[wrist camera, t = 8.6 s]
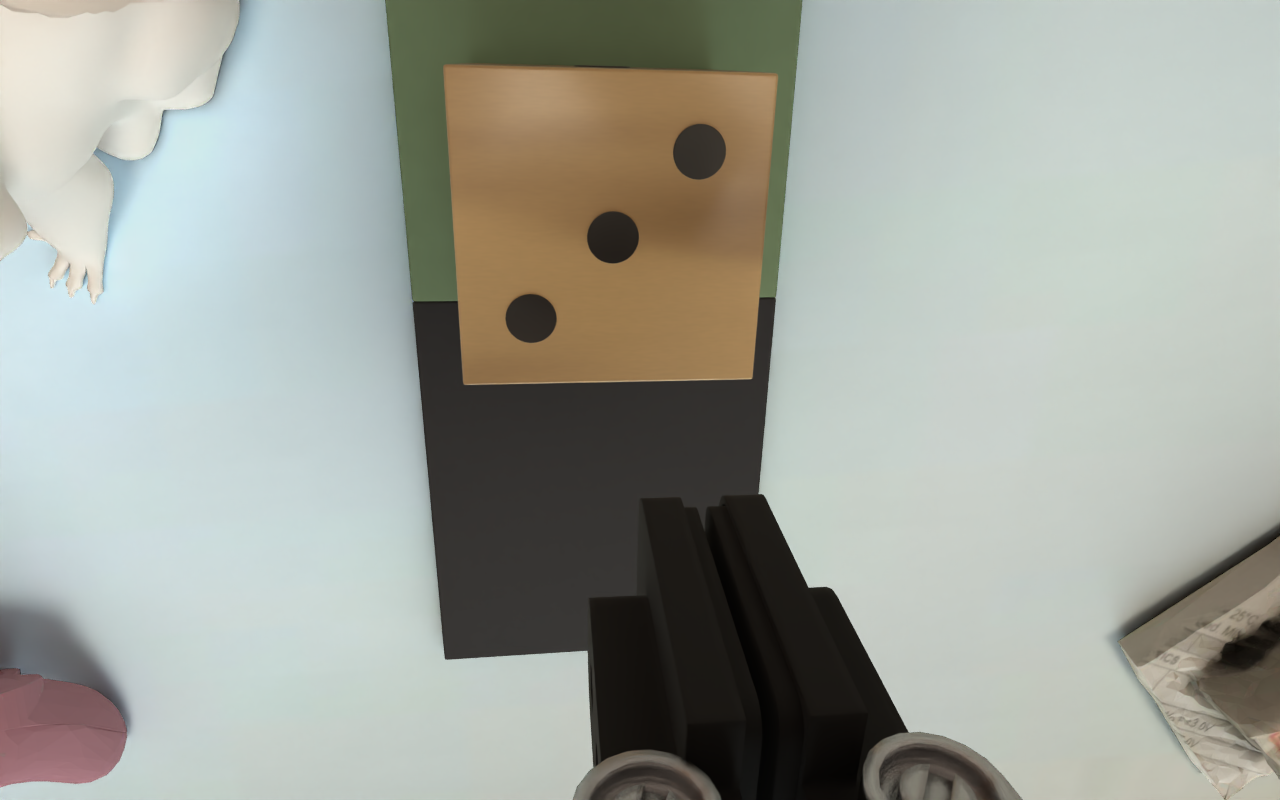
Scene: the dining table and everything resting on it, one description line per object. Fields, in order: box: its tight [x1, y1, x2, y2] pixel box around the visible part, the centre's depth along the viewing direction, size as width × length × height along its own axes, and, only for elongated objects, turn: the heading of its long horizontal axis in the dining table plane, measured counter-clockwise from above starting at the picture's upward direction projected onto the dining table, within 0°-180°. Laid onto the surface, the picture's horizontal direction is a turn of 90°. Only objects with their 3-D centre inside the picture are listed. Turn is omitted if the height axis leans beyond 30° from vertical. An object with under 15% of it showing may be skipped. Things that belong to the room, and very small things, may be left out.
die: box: [443, 63, 778, 385], centre depth 18 cm, size 6×6×6 cm
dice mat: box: [385, 0, 802, 660], centre depth 23 cm, size 20×10×1 cm, turn 179°
